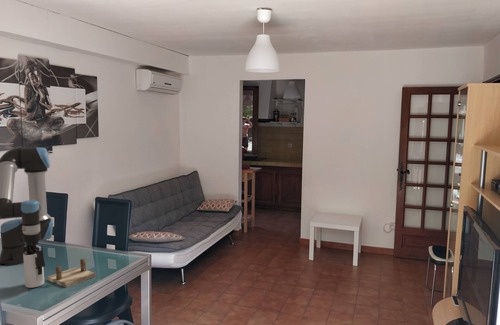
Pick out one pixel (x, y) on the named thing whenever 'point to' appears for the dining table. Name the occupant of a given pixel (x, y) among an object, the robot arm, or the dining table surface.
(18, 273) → the dining table surface
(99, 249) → the dining table surface
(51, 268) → the dining table surface
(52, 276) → the peg board
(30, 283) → the cup
